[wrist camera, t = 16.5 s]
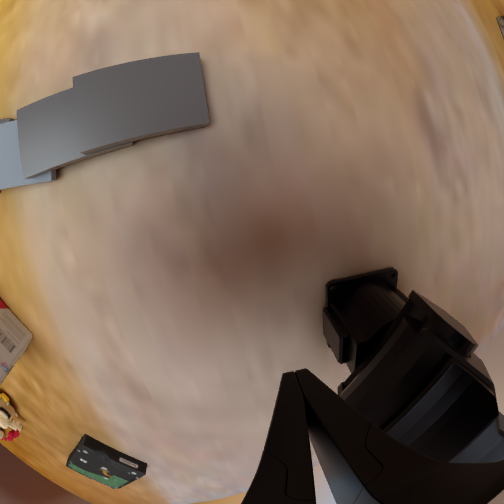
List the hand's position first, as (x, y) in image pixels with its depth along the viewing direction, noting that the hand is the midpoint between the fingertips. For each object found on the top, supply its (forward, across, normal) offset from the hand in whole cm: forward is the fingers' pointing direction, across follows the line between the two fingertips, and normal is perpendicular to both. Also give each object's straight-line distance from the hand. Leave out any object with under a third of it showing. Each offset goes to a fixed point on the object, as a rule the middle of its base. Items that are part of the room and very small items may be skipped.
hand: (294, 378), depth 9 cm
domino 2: (+11, +7, -12) cm, 18 cm away
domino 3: (+11, +2, -12) cm, 17 cm away
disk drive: (+13, +29, +30) cm, 44 cm away
